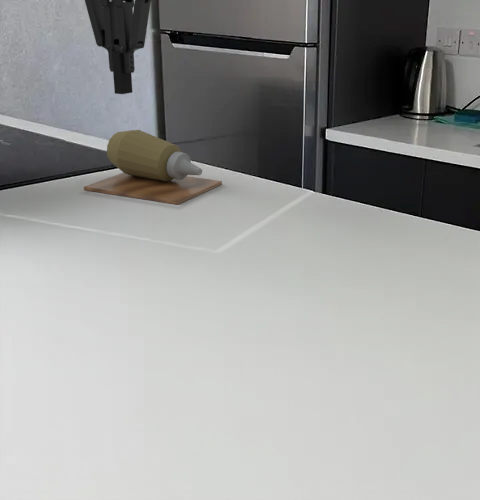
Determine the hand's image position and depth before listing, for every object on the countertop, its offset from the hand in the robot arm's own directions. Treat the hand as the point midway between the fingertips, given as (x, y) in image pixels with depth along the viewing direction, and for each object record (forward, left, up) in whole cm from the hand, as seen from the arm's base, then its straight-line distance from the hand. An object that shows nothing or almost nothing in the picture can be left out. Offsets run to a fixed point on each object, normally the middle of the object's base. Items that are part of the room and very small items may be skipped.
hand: (123, 92), depth 112 cm
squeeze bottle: (-5, +4, -10) cm, 12 cm away
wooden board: (+5, 0, -15) cm, 16 cm away
